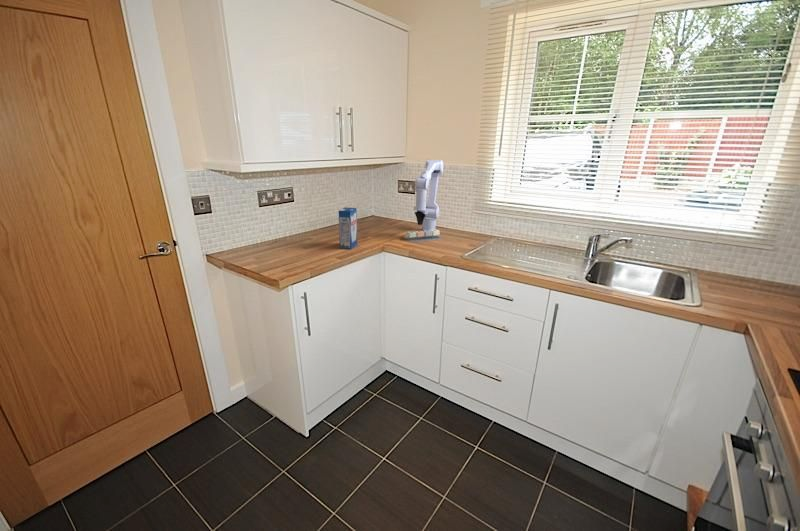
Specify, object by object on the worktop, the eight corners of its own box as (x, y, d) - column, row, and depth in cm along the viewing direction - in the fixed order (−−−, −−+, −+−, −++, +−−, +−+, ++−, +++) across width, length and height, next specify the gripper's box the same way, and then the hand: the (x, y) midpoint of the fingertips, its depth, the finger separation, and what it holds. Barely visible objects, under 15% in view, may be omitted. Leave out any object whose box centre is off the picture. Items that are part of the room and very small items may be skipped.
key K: (422, 234, 199) (422, 230, 199) (428, 233, 201) (428, 229, 200) (425, 236, 196) (425, 231, 195) (431, 235, 197) (432, 231, 197)
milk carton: (351, 249, 178) (350, 211, 171) (339, 248, 179) (338, 210, 172) (357, 244, 187) (356, 207, 180) (346, 243, 188) (345, 207, 181)
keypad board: (403, 238, 200) (403, 236, 199) (433, 236, 207) (433, 234, 207) (411, 244, 190) (411, 242, 189) (443, 241, 197) (443, 239, 197)
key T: (414, 235, 198) (415, 230, 197) (421, 234, 199) (421, 230, 198) (417, 236, 194) (418, 232, 193) (424, 236, 196) (424, 232, 195)
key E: (406, 235, 196) (407, 231, 195) (413, 235, 197) (413, 231, 196) (409, 237, 192) (410, 233, 191) (416, 236, 194) (416, 232, 193)
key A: (430, 233, 201) (430, 229, 200) (436, 233, 203) (436, 229, 202) (433, 235, 198) (433, 231, 197) (439, 234, 199) (439, 230, 198)
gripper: (409, 198, 195) (408, 222, 199) (420, 202, 182) (419, 227, 187) (420, 198, 197) (419, 221, 202) (432, 202, 185) (430, 227, 189)
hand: (419, 224), depth 194 cm, fingers closed
